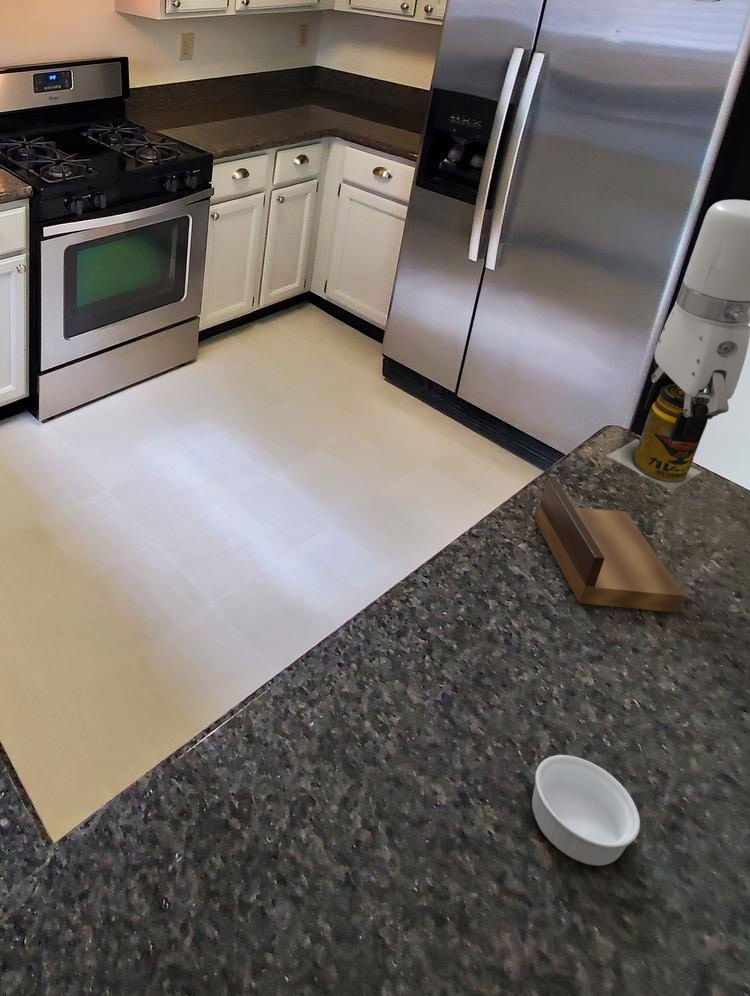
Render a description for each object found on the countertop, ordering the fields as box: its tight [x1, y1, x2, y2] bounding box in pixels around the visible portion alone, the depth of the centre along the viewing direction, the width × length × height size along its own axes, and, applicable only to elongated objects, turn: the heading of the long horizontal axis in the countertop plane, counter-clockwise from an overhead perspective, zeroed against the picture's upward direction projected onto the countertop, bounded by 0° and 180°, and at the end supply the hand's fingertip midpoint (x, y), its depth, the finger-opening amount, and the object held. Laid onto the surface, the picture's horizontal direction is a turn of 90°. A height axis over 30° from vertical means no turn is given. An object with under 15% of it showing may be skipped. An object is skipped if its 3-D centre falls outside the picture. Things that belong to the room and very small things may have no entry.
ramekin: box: [531, 754, 641, 866], centre depth 78 cm, size 9×9×4 cm
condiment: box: [606, 384, 708, 491], centre depth 105 cm, size 7×8×12 cm
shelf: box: [534, 477, 686, 614], centre depth 109 cm, size 12×16×8 cm
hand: (670, 424), depth 104 cm, fingers closed on condiment, 6 cm apart
